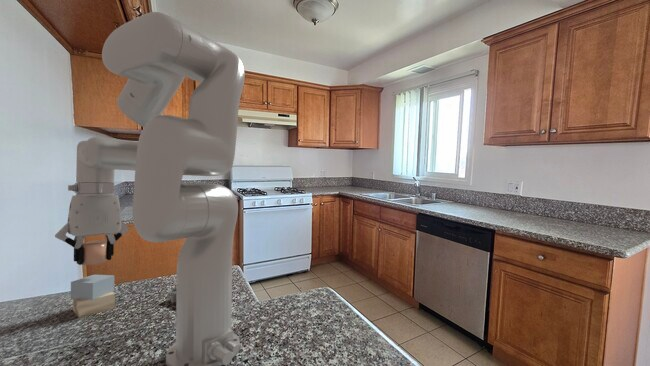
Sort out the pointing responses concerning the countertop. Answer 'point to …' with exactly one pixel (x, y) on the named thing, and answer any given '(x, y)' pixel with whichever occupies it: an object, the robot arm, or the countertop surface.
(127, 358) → the countertop surface
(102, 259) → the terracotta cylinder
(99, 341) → the countertop surface
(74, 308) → the tower base block
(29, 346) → the countertop surface
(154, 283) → the countertop surface
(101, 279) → the tower top block
